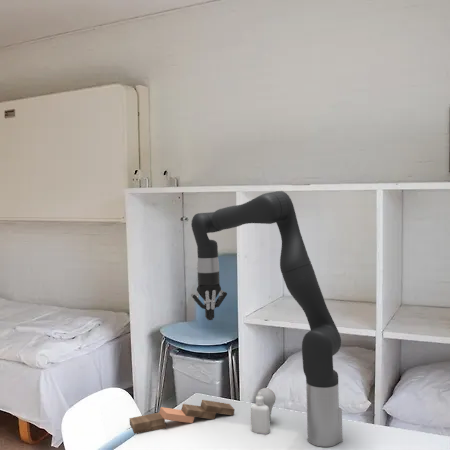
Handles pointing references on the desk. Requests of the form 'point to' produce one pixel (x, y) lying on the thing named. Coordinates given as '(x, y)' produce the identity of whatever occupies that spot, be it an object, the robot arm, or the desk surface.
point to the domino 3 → (175, 415)
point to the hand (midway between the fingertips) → (210, 319)
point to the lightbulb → (268, 398)
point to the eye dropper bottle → (260, 416)
